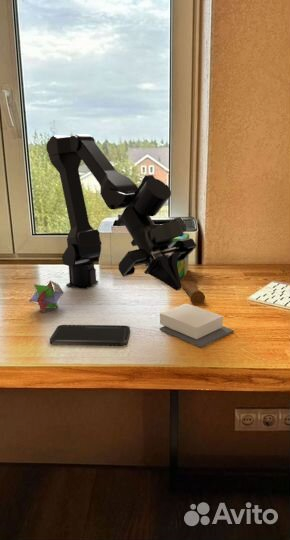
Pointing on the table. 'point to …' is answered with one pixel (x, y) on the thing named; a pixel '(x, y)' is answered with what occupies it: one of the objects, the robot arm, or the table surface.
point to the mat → (203, 340)
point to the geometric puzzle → (47, 295)
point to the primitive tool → (192, 290)
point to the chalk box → (184, 263)
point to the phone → (90, 335)
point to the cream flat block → (191, 320)
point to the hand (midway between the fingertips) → (179, 289)
